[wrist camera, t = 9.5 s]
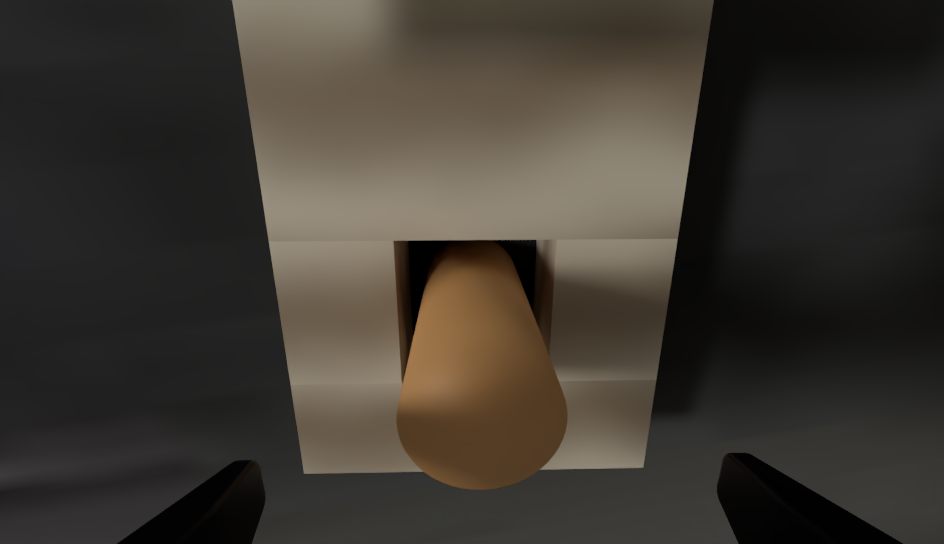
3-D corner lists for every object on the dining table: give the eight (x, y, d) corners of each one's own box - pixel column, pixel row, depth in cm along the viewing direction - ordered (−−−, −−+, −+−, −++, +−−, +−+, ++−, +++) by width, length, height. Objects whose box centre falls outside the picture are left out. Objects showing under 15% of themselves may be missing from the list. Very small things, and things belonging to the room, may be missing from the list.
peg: (515, 319, 20) (562, 488, 11) (429, 320, 20) (401, 491, 11) (517, 236, 19) (573, 344, 10) (425, 236, 19) (391, 346, 10)
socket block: (612, 409, 22) (642, 467, 18) (331, 413, 22) (304, 473, 18) (663, -33, 16) (726, -82, 12) (277, -36, 16) (219, -86, 12)
